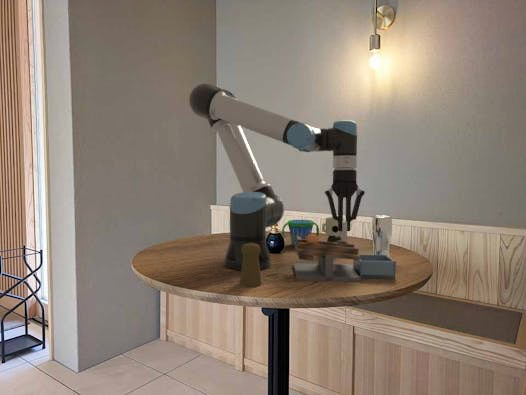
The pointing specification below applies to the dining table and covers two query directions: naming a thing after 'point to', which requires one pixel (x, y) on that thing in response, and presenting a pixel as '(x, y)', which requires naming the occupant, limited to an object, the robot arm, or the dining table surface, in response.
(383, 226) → the beer glass
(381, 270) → the cup
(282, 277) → the dining table surface
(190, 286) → the dining table surface
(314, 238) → the ball
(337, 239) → the character mug
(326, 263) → the lever base
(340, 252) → the tilt lever
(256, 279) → the brown upright piece
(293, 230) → the snack cup
